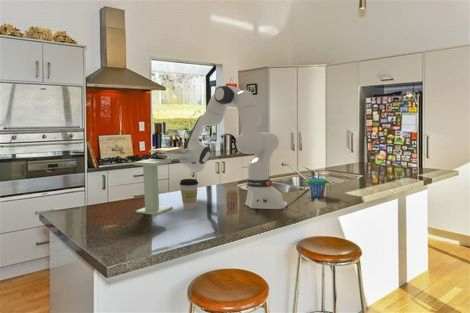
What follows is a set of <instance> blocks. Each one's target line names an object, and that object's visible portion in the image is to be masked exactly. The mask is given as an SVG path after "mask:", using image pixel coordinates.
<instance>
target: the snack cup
mask: <svg viewBox="0 0 470 313" xmlns="http://www.w3.org/2000/svg"><path fill="white" fill-rule="evenodd" d="M306 183H307V184H308V187H309V192H310V196H311V198H323V197H324V196H325V190H326V183H328V184H329V192H331V189H332V186H331V182H330V181H329V180H327V179H326V178H321V177H311V178H308V179H307V180H306V181H305V182H304V183H303V190H304V192H305V191H306V188H305V186H306V185H305V184H306Z"/></svg>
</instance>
